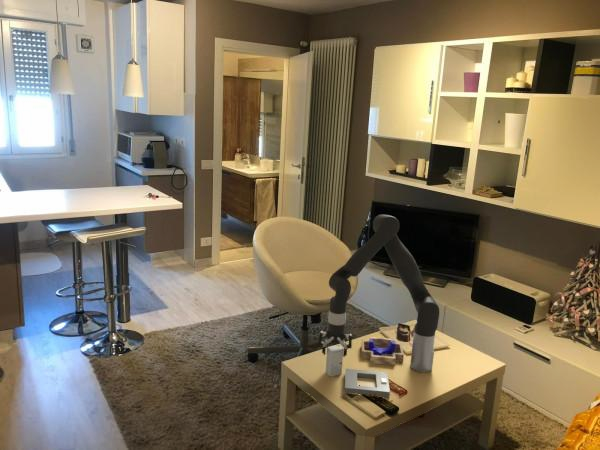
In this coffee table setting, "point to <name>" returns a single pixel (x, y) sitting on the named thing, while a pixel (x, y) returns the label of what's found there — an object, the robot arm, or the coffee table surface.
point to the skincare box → (334, 360)
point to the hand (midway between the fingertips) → (334, 355)
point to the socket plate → (367, 382)
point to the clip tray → (382, 359)
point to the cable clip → (380, 351)
